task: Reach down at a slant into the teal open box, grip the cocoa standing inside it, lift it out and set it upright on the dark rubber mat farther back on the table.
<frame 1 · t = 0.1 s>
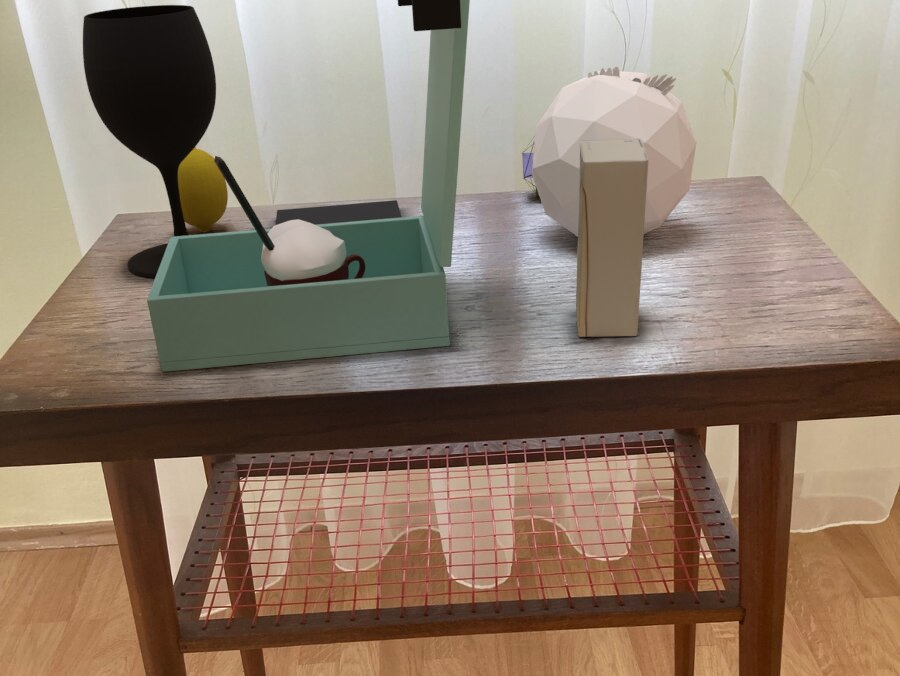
hand: (427, 16, 69), 21 cm above the table, tool pointing down, fingers open, 13 cm apart
geodesic sphere: (609, 239, 99), on the table
teal open box: (307, 321, 84), on the table
geometric puzzle: (556, 199, 111), on the table
cosmetic box: (607, 325, 81), on the table
mat: (339, 229, 105), on the table
wine glass: (186, 262, 100), on the table
lemon: (205, 234, 107), on the table
cocoa: (306, 315, 84), point 1 cm above the table, touching teal open box
cooler lid: (470, 81, 76), point 16 cm above the table, hinge at 97.2°, touching gripper
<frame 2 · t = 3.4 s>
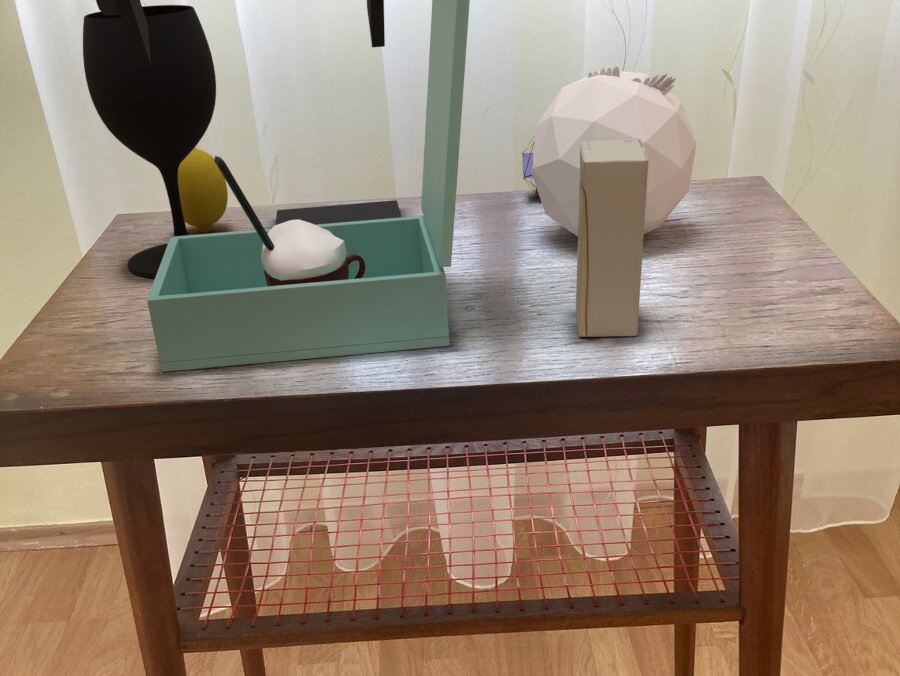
hand: (260, 36, 65), 21 cm above the table, tool tilted 45°, fingers open, 13 cm apart
cooler lid: (470, 81, 76), point 16 cm above the table, hinge at 97.2°
everything else where it was.
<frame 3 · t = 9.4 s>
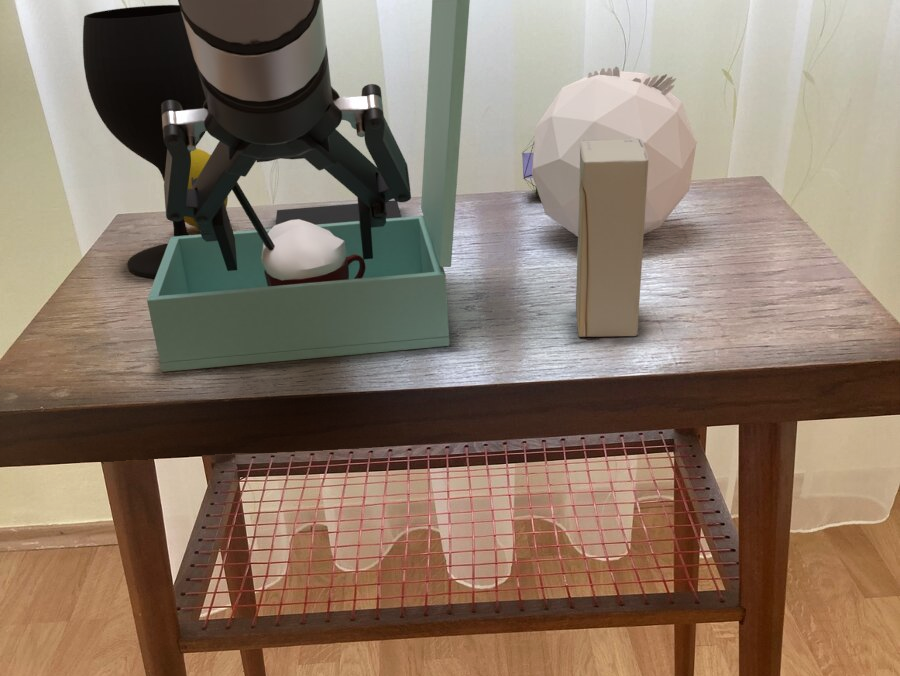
hand: (299, 248, 84), 5 cm above the table, tool tilted 45°, fingers closed on cocoa, 10 cm apart
cocoa: (306, 315, 84), point 1 cm above the table, touching teal open box, gripper
everything else where it was.
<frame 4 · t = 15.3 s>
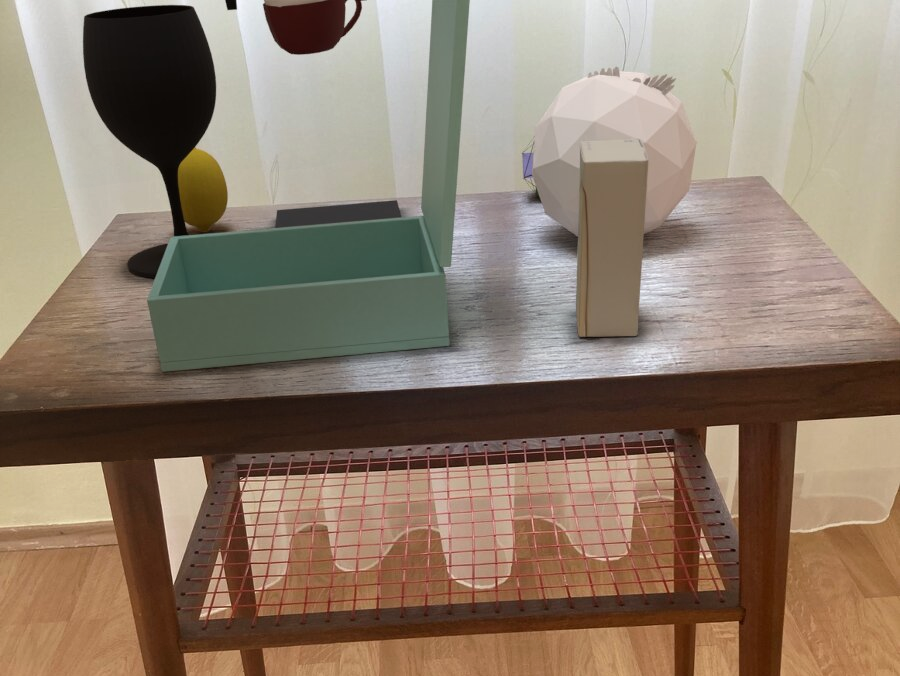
cocoa: (304, 54, 86), point 17 cm above the table, touching gripper
everything else where it was.
when the fingers open (5 cm above the table, at t = 21.6 s): cocoa stays where it is, resting on mat.
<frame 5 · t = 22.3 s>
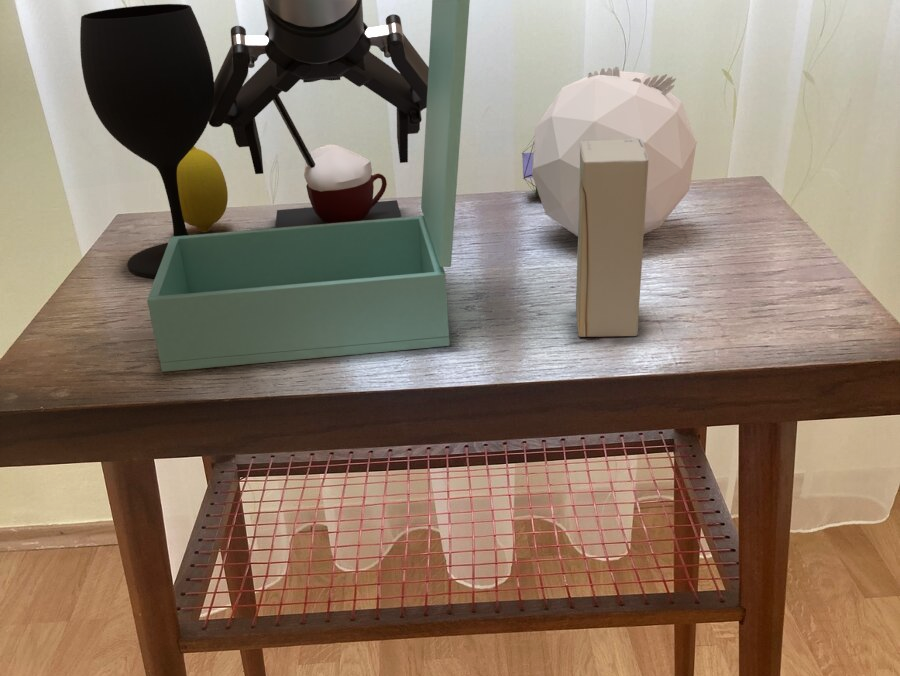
hand: (330, 155, 104), 6 cm above the table, tool tilted 45°, fingers open, 13 cm apart
cocoa: (339, 223, 105), point 1 cm above the table, touching mat
everything else where it was.
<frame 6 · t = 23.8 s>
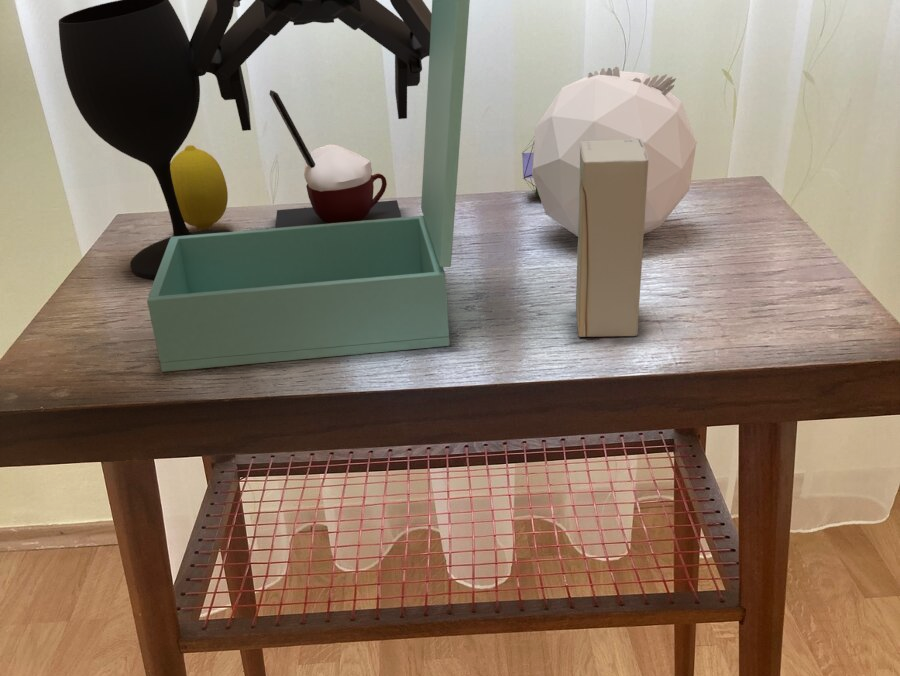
hand: (323, 111, 96), 11 cm above the table, tool tilted 45°, fingers open, 13 cm apart
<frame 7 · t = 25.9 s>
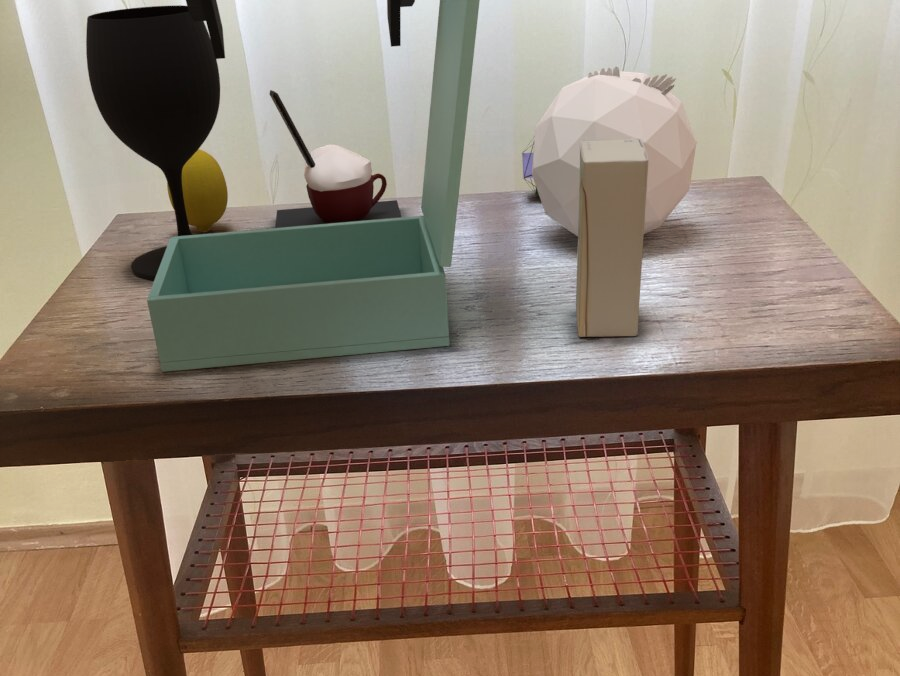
hand: (306, 37, 86), 18 cm above the table, tool tilted 45°, fingers open, 13 cm apart
cooler lid: (475, 83, 76), point 16 cm above the table, hinge at 99.3°
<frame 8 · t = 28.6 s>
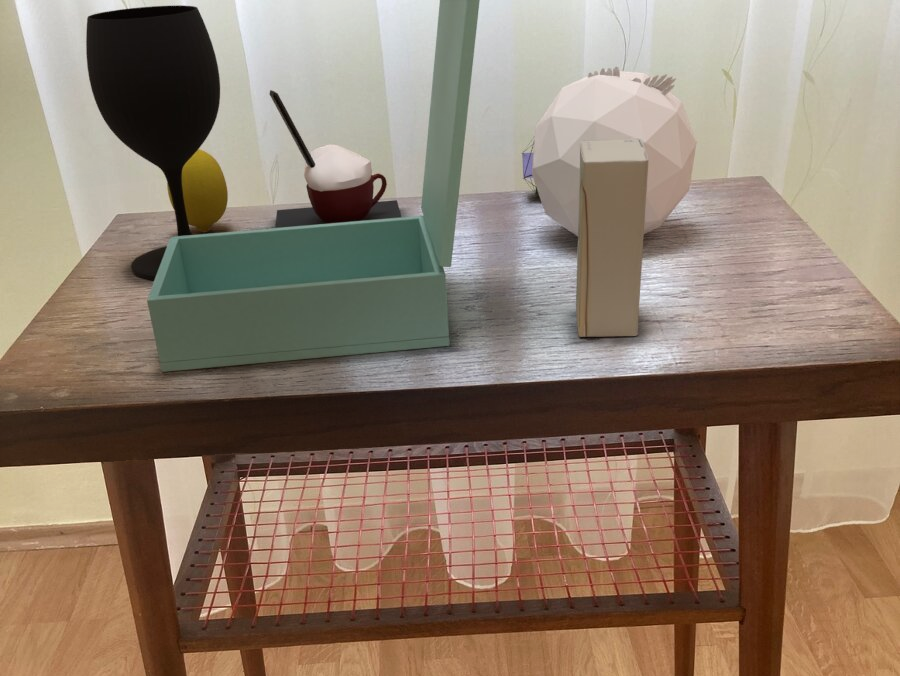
nothing on the table moved.
at the end: cocoa inside the target area on the mat (0.1 cm from its centre), point 0.6 cm above the mat's base; cocoa tilted 0°; the gripper is holding nothing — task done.
